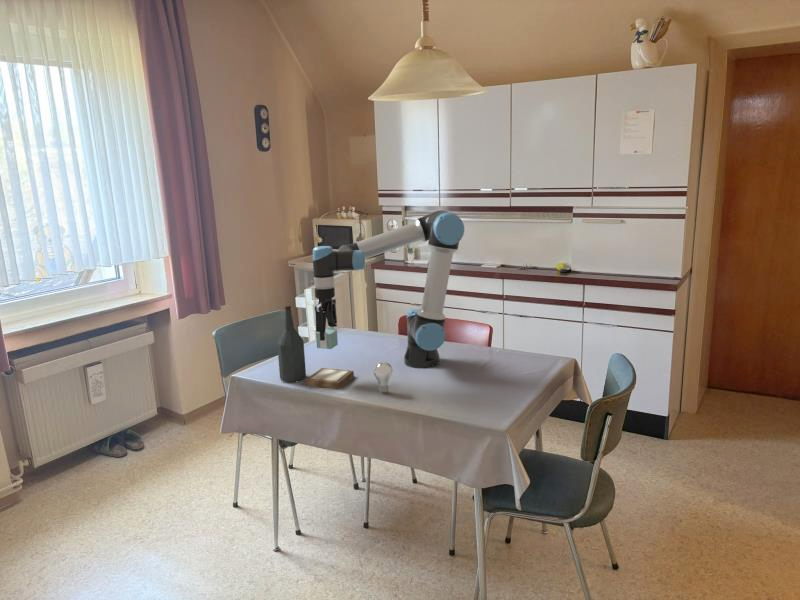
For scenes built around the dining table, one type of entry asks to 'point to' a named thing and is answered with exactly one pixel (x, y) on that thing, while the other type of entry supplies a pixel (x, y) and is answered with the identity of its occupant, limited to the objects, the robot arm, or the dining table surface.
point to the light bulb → (383, 375)
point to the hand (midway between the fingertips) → (327, 345)
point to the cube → (328, 338)
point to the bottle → (291, 352)
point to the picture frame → (330, 378)
